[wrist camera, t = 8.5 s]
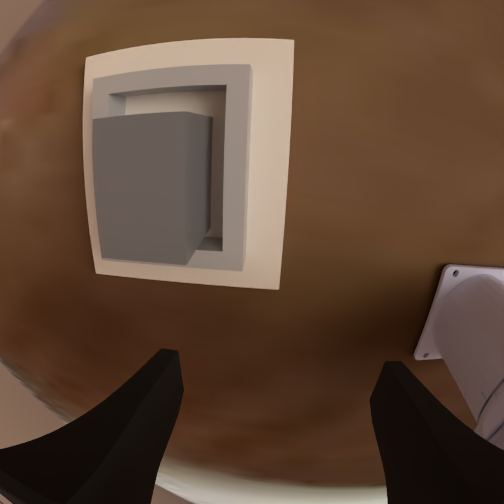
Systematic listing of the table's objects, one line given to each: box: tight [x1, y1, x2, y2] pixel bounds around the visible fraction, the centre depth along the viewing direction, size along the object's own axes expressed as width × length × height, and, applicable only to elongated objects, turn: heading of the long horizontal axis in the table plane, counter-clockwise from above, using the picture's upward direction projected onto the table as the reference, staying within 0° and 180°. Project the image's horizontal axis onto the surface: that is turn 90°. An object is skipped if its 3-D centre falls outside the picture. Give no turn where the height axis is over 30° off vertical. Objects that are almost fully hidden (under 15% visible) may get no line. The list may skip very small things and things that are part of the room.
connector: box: [93, 111, 213, 265], centre depth 14 cm, size 4×6×5 cm, turn 177°
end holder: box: [83, 38, 294, 290], centre depth 15 cm, size 12×14×3 cm
